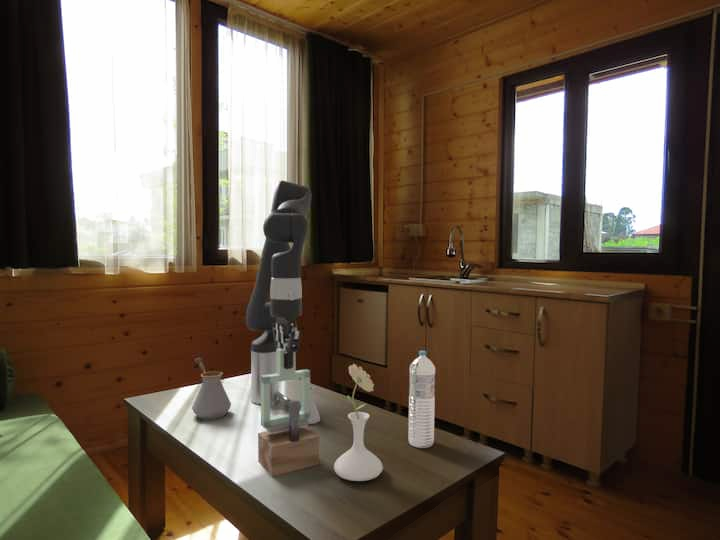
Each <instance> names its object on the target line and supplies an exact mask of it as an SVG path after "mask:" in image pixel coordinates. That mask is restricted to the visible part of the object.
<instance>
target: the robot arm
mask: <svg viewBox="0 0 720 540" xmlns="http://www.w3.org/2000/svg"><path fill="white" fill-rule="evenodd" d="M311 191H312V190H311V189H310V188H309V187H307V186H305V185H301V184H298V183H294V182H291V181H286V180H280V181H279V182H277V184H276V187H275V189H274V193H273V197H272V203H271V209H270V212H269V213H268V214H267V216H266V217H265V219H264V222H263V226H262V230H263V231H262V232H263V234H264V236H265V240H264V245H263V247H262V248H263V249H262V252H261V254H260V255H261V256H260V259H259V260H260V261H259V265H258V270H257V275H256V279H255V284H254V287H253V291H252V294H251V296H250V299H249V300H248V301H249V302H248V306H247V309H246V313H245V325H246V327H247V329H248V330H250V331H252V332H262V331H264V332H263V333H262V335H261V336H259V337H257V338H256V339H254V340H253V341H252V342H251V344H250V345H251V346H250V357H251V358H250V363H251V364H250V365H251V367H250V369H251V371H250V375H251V377H250V378H251V381H250V382H251V384H250V385H251V387H250V389H251V391H250V394H251V395H250V397H251V398H250V399H251V400H250V401H251V402H252V403H253V404H257V405H261V376H262V375H269V374H276V349H279V348H284V368H285V369H291V368H293V353H295V352H296V353H297V352H298V351H299V348H300V343H301V339H302V335H303V332H302V329H301V330H298V327H297V325H298V324H297V319H296V318H297V317H300V316H301V315H302V313H303V306H302V305H303V299H302V298H303V296H302V295H303V294H302V293H303V288H302V278H301V276H302V275H301V274H302V268H301V266H302V256H303V249H304V246H305V242H306V240H307V236H308V232H309V222H308V219H307V217H306V215H307V214H308V212H309V209H310V206H311V202H312V197H313V196H312V195H313V194H312V192H311ZM291 243H292V247H291V246H290V244H291ZM269 297H270V301H269V302H267V300H268V298H269ZM276 391H279V392H280V382H274V383H270V401H271V399H272V397H273V395H274V393H275V392H276ZM279 400H280V398H277V399H276V401H275V403H277V402H278V401H279Z"/></svg>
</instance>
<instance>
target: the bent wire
mask: <svg viewBox="0 0 720 540" xmlns="http://www.w3.org/2000/svg"><path fill="white" fill-rule="evenodd" d="M277 398H279V400H281V401H282V402H284V404H286V405H288V414H289V441H291V442H297V441H299V411H300V401H299V400H294V399H293V400H291V399H290V398H288V397H287V396H286V395H284V394H283V393H281V392H280V390H279V391H276V392H275V393H274V395H273V397H272V399H271V401H270V410H272V408H273V406H274V405H275V403H276V402H275V401H276V399H277Z"/></svg>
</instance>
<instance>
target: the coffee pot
mask: <svg viewBox="0 0 720 540" xmlns="http://www.w3.org/2000/svg"><path fill="white" fill-rule="evenodd" d="M194 361H195V363H197V364H199V368H200V371H201V372H202V373H201V374H200V377H201V379H202V382H201V383H202V384H201V385H200V388H199V390H198V393H197V395H196V398H195V400H194V402H193V404H192V407H191V410H192V411H193V414H195V416H197V417H198V418H199V419H201V420H207V421H208V420H217V419H220V418H222V417H224V416H225V414H226V413H228V411H230V409H231V405H232V403H231V401H230V399H229V397H228V394H227V391H226V390H225V387H224V385H223V384H222V381H221V379H222V376H224V375H223V374H224V372H221V371H216V370H215V371H206V368H205V365H204V364H203V362H202V361H203V359H202V358H201V357H197V358H195V360H194Z"/></svg>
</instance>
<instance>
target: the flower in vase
mask: <svg viewBox="0 0 720 540" xmlns="http://www.w3.org/2000/svg"><path fill="white" fill-rule="evenodd" d="M348 373H349V376H351V378H352V380H353V381H354V382H355V386H354V389H353V391H352V396H350V395H347V396H346V399H345V400H347V402H348V401H349V402H350V403H351V404H352V405H353V407H354V412H350V413H349V414H348V415H347V418H348V419H349V420H350V422H351V425H352V430H353V444H352V446H351V447H350V449H348V450H347V451H346V452H344V453H343V454H340V456H339V457H338V458H337V459H336V460H335V462H334V464H333V471H334V472H335V473H336V475H337V476H339V477H340V478H341V479H344V480H347V481H351V482H352V481H353V482H365V481H370V480H374V479H375V478H377V477H378V476H379V475H381V473H382V472H383V469H384V466H383V463H382V461H381V460H380V459H379V458H378V457H377V455H375V454H374V453H372V451H370V450H368V449H367V448H366V447H365V444H364V434H365V433H364V432H365V427H366V423H367V421H368V420H369V419H370V414H369V413H368V412H363V411H358V410H360V409H362V408H363V407H365V406H366V405H367V404H368V403H367V402H365V403H363V404H361V405H359V406H358V407H356V403H355V399H354V397H355V393H356V389H357V386H358V387H359V388H361V389H362V390H363V391H366V392H374V387H375V384H374V383H373V380H372V379H371V375H369V373H367V372H366V370H363V367H362V366H357V364H355V363H353V364H352V365H349V366H348Z"/></svg>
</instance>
